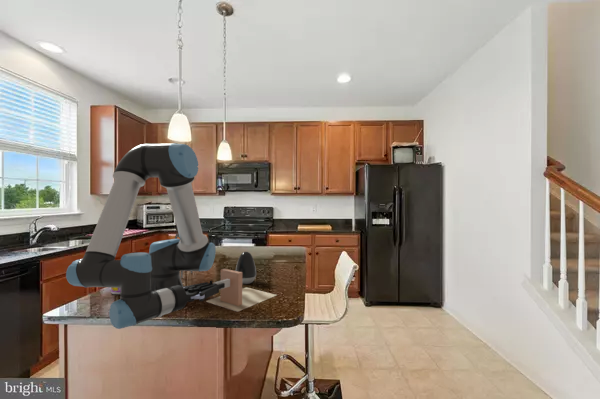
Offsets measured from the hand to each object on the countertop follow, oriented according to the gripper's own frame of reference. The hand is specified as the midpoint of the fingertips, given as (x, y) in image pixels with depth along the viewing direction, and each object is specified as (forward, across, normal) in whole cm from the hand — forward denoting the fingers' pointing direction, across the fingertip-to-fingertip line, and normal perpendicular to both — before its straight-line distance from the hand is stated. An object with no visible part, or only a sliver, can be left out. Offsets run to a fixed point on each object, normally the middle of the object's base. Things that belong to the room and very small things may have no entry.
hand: (228, 282), depth 106 cm
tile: (+2, -1, -8) cm, 8 cm away
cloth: (+8, -1, -9) cm, 12 cm away
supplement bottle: (-16, -51, -9) cm, 54 cm away
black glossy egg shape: (+26, -18, -9) cm, 33 cm away
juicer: (+14, -56, -9) cm, 58 cm away
